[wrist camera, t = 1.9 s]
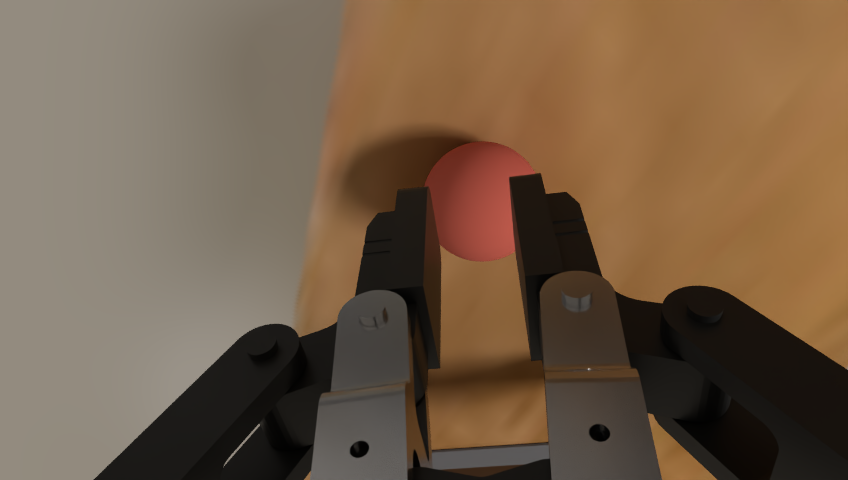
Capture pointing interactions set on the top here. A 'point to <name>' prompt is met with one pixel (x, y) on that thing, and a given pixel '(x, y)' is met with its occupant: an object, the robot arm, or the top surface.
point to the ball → (476, 199)
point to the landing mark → (489, 456)
